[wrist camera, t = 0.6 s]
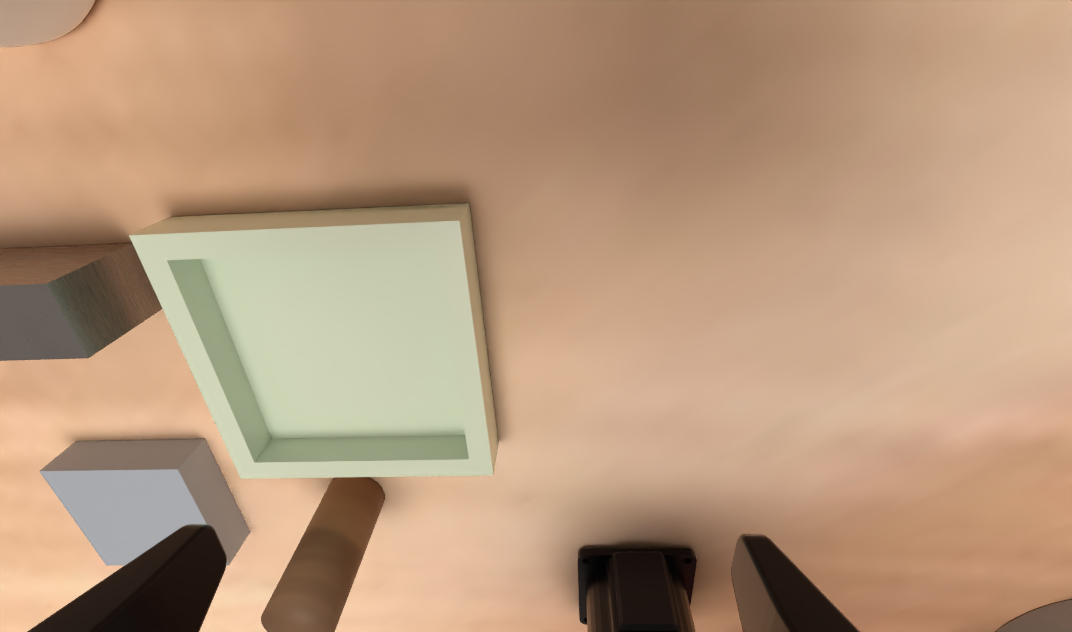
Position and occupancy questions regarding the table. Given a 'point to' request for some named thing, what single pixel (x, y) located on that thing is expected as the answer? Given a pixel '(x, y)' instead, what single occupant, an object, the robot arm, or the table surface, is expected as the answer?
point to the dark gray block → (70, 299)
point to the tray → (333, 337)
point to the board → (144, 494)
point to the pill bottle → (39, 20)
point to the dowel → (326, 559)
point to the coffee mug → (1043, 619)
